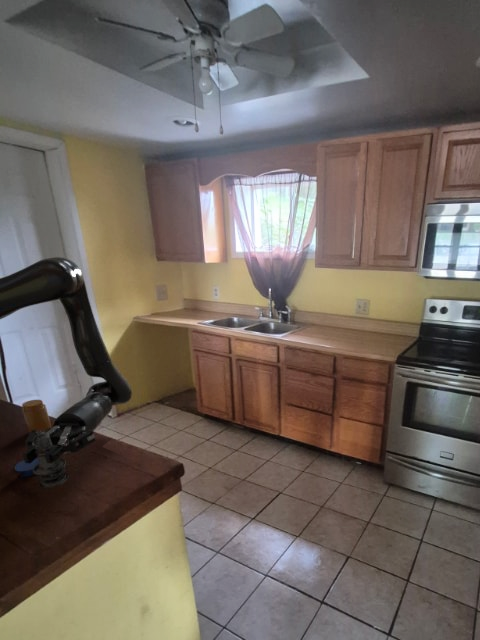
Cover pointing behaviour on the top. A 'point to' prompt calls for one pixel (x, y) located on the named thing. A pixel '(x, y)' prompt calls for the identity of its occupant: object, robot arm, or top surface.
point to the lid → (26, 468)
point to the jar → (36, 415)
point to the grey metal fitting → (48, 471)
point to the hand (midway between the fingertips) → (36, 459)
